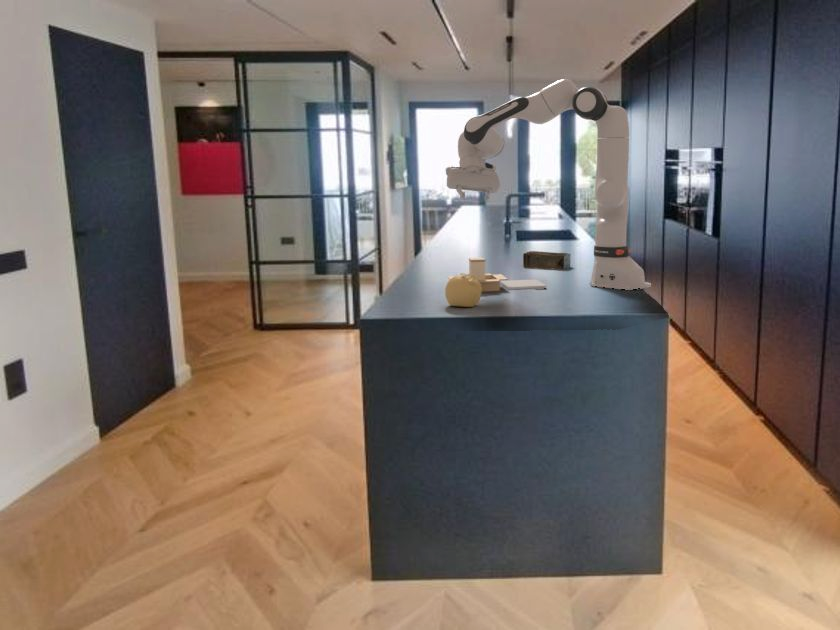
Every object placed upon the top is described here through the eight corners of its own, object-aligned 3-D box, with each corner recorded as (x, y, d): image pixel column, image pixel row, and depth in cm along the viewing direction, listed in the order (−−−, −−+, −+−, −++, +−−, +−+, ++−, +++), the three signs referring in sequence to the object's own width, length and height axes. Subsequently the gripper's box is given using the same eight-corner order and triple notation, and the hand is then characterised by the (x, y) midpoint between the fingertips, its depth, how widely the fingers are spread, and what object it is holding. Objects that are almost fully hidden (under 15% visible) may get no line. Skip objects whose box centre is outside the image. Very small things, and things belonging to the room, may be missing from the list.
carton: (446, 287, 281) (446, 275, 280) (499, 284, 283) (499, 273, 282) (453, 295, 264) (453, 282, 264) (509, 292, 266) (509, 280, 266)
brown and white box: (469, 288, 276) (468, 258, 273) (483, 287, 276) (483, 257, 274) (471, 290, 271) (471, 259, 269) (485, 289, 272) (485, 259, 269)
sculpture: (484, 308, 241) (484, 275, 239) (447, 310, 240) (447, 276, 238) (479, 301, 252) (479, 270, 250) (443, 303, 251) (443, 271, 249)
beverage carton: (564, 270, 316) (564, 254, 315) (522, 267, 326) (522, 252, 325) (570, 267, 323) (571, 252, 321) (529, 265, 333) (529, 250, 331)
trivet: (500, 284, 285) (500, 280, 285) (536, 282, 286) (536, 279, 286) (508, 290, 271) (508, 287, 271) (546, 288, 273) (546, 285, 272)
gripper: (447, 160, 280) (450, 191, 274) (499, 166, 285) (503, 196, 279) (443, 171, 286) (445, 201, 280) (493, 176, 291) (497, 206, 284)
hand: (474, 198), depth 279 cm, fingers open, 8 cm apart
